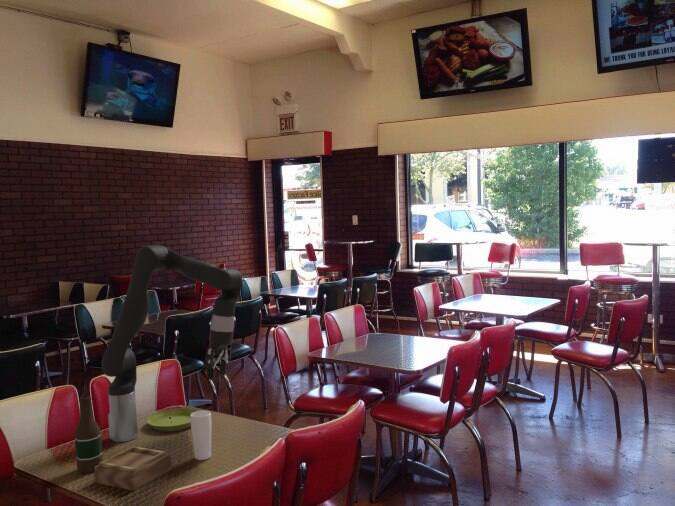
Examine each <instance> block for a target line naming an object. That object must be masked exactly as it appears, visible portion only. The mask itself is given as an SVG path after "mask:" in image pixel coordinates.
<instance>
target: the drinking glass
mask: <svg viewBox="0 0 675 506" xmlns="http://www.w3.org/2000/svg"><path fill="white" fill-rule="evenodd" d="M190 420H191V427H190V430H191V437H192V443H193V450H194V458H195V460H197V461H207V460H208V459H211V457H212V432H213V431H212V428H213V427H212V426H213V424H212V412H211V411H210V410H197V411H196V412H193V413H192V414H191V415H190Z"/></svg>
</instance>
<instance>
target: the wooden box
mask: <svg viewBox="0 0 675 506" xmlns="http://www.w3.org/2000/svg"><path fill="white" fill-rule="evenodd" d="M171 458H172V456H171V453H167V451H163V450H158V449H152V448H145V447H140V446H135V445H132V446H130V447H128V448H126V449H124V450H122V451H120V452H118V453H116V454H114V455H112V456H110V457H108V458H105V459H104V460H103V461H102V462H100V463H99V465H97V466H95V467H94V469H95V472H94V481H95V484H100V485H104V486H105V485H106V486H109V487H114V488H119V489H124V490H127V491H128V490H129V491H133V492H135V491H137V490H139V489H140V488H143V487H145V486H146V485H147V484H149V483H150V482H153V481H154V480H156V479H157V478H159V477H161V476H162V475H164V474H166V473H167V472H169V471H171V470H172V459H171Z"/></svg>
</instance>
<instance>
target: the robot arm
mask: <svg viewBox="0 0 675 506" xmlns="http://www.w3.org/2000/svg"><path fill="white" fill-rule="evenodd" d="M162 271H172V272H176V273H179V274H181V275H183V277H185V278H187V279H189V280H191V281H194V282H197V283H201V284H205V285H207V286H208V287H211V288H213V289H216V290H219V291H221V294H220V295H219V296H218V297H217V298H215V300H214V303H213V309H212V310H213V311H212V317H211V321H210V330H209V338H208V342H209V343H211V344H212V345H211V348H209V347H207V348H206V350H205V357H204V365H203V366H204V367H206V368H207V371H206V380H209V381H212V380H214V378H215V369H216V366H217V364H219V362H220V364H219V369H218V374H219V375H221V376H225V375H226V373H227V367H228V366H227V365H228V363H229V362H231V360H232V351H233V344H232V343H233V337H234V335H233V334H234V327H235V313H236V306H237V305H236V304H237V301H238V299H239V295H240V293H241V290H242V288H243V277H242V276H243V275H242V274H241V272H240V271H239V270H237V269H234V268H233V269H232V268H220V267H217V266H216V265H214V264H212V263H209V262H205V261H202V260H198V259H194V258H192V257H188V256H185V255H183V254H180V253H178V252H176V251H174V250H172V249H170V248H168V247H166V246H164V245H157V244H155V245H154V244H153V245H144V246H141V248H140V249H138V251H137V253H136V255H135V259H134V263H133V267H132V273H131V277H130V282H129V284H128V285H129V286H128V288H127V290H126V295H125V297H124V301H123V302H122V306H121V309H120V312H119V316H118V320H117V321H116V325H115V327H114V330H113V333H112V336H111V339H110V341H109V343H108V345H107V347H106V348H105V351H104V354H103V356H102V359H101V370H102V372H103V374H104V375H106V376H107V377H110V378H112V377H114V380H113V381H112V382H111V383H110V384H109V386H108V387H107V391H108V392H107V393H108V404H109V413H107V418H108V419H107V420H108V430H109V431H108V432H109V433H108V434H109V439H110V440H111V441H112V442H116V443H123V442H124V443H125V442H129V441H132V440H135V439H137V437H138V436H139V432H138V431H139V429H138V427H139V426H138V416H137V415H138V414H137V413H138V411H137V400H136V398H137V397H136V384H137V379H138V378H137V377H138V376H137V358H136V354H135V353H134V351H133V350H132V349H131V348H129V346H130V344H131V342H132V341H133V339H135V337H136V336H137V335H138V333H139V332H140V331H141V329H142V328H143V326H144V324H145V323H146V320H147V317H148V315H149V312H150V307H151V301H150V300H151V299H150V296H149V290H148V288H149V283H150V279H151V277H152V275H153V273H154V272H155V273H156V272H162Z"/></svg>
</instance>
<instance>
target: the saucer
mask: <svg viewBox="0 0 675 506" xmlns="http://www.w3.org/2000/svg"><path fill="white" fill-rule="evenodd" d="M196 411H198V410H197V409H193V408H174V409H173V408H172V409H167V410H163V411H159V412H156V413H154V414H152V415H150V416H149V417H148V418H147V419H146V422H147V425H149V427H151V429H154V430H155V431H159V432H177V430H178V431H182V430H186V429H188V427H189V428H191V420H190V415H191V414H192V413H193V412H196ZM169 417H171V419H169ZM171 422H172V423H171ZM185 428H186V429H185Z"/></svg>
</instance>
